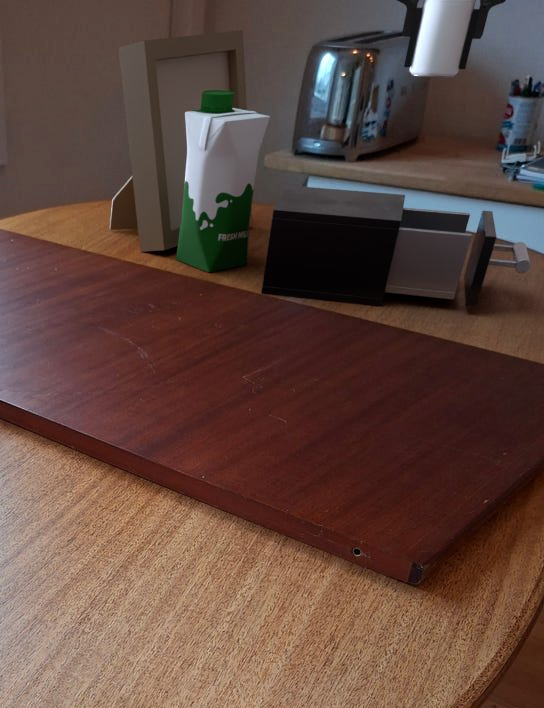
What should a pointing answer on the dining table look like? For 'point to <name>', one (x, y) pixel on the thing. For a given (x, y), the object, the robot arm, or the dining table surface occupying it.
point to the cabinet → (332, 244)
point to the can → (441, 38)
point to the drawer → (446, 254)
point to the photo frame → (168, 124)
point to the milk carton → (219, 182)
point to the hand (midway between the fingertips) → (434, 66)
